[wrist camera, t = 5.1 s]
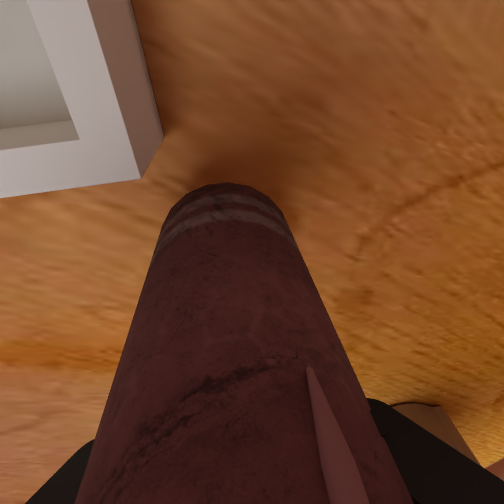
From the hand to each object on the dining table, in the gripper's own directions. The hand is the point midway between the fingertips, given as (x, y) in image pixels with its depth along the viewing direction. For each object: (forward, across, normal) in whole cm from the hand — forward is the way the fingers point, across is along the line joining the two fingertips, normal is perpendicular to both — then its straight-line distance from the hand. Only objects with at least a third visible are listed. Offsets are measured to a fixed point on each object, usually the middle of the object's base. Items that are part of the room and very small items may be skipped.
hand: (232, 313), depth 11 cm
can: (+6, 0, 0) cm, 6 cm away
